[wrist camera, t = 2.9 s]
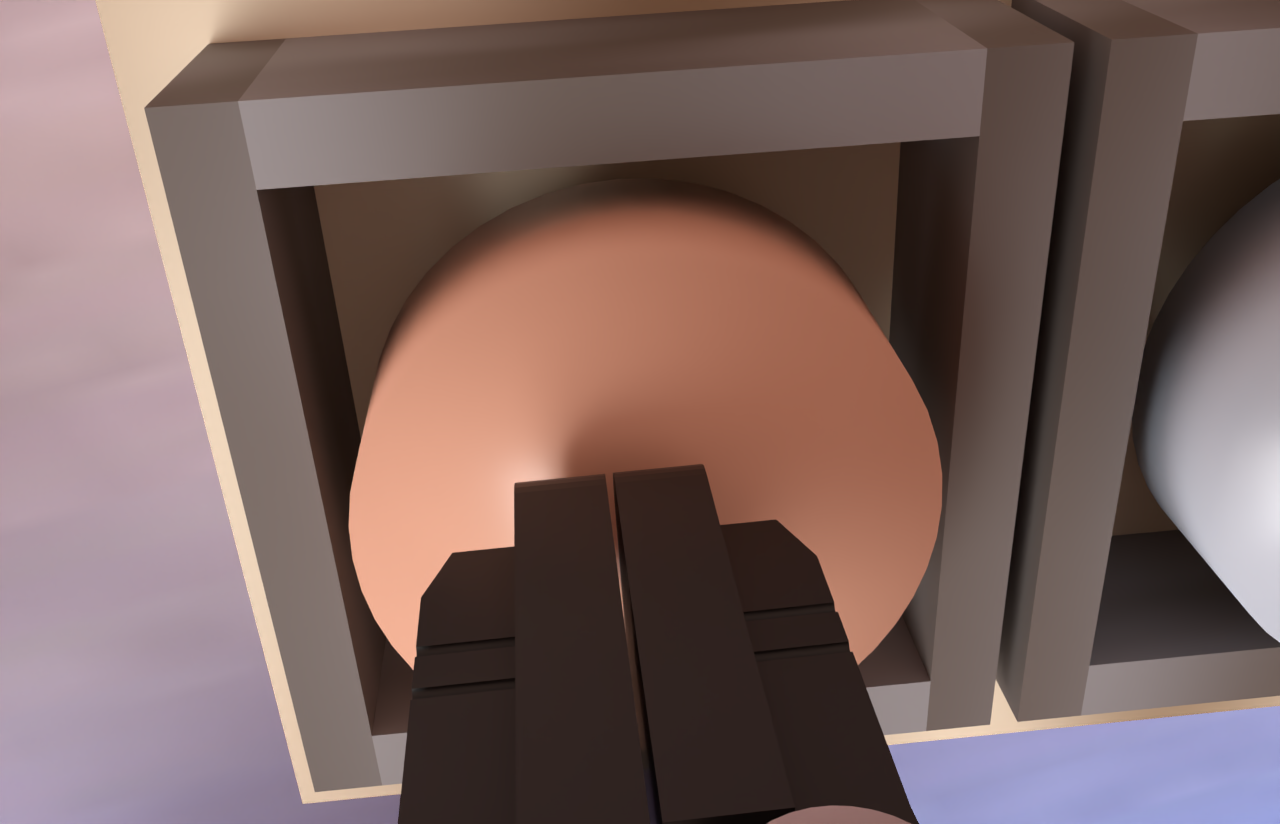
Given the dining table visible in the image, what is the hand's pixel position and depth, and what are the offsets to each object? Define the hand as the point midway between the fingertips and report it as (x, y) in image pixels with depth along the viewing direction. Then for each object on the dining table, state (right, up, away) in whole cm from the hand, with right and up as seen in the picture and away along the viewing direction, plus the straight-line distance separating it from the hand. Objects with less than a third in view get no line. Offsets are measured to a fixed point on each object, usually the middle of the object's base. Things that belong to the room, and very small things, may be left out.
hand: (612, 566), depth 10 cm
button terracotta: (0, +1, +2) cm, 2 cm away
